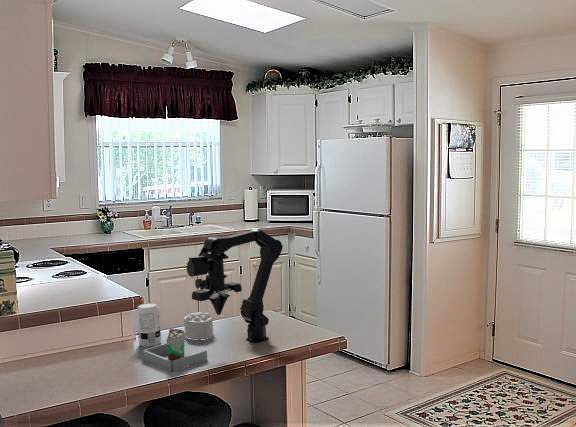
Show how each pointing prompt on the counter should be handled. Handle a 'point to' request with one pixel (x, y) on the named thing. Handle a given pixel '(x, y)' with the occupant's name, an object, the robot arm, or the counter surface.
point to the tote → (154, 358)
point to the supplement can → (148, 325)
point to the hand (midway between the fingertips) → (218, 314)
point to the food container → (175, 344)
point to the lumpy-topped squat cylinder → (198, 325)
